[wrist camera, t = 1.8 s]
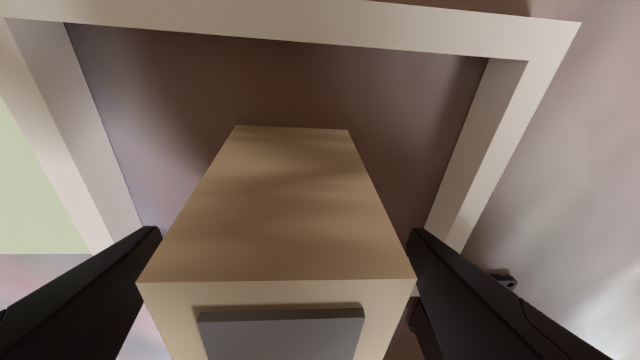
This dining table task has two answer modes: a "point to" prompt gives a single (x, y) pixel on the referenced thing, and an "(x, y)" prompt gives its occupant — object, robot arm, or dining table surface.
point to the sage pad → (30, 200)
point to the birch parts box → (280, 255)
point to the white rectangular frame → (278, 24)
